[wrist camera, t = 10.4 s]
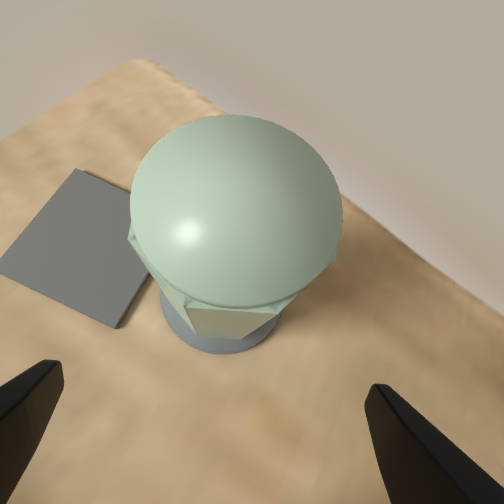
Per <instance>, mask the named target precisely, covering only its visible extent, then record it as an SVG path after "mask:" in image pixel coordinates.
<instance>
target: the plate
mask: <svg viewBox="0 0 504 504" xmlns="http://www.w3.org/2000/svg"><path fill="white" fill-rule="evenodd" d="M160 302H161V307H162V311H163V313H164V316H165V318H166V320H167V322H168V324H169V326H170V327H171V328H172V330H173V331H174V332H175V333H176V334H177V335H178V336H179V337H180V338H181V339H182V340H183V341H184V342H186V343H187V344H189V345H190V346H192V347H194V348H196V349H198V350H201V351H204V352H208V353H212V354H231V353H237V352H240V351H243V350H246V349H248V348H250V347H252V346H254V345H256V344H257V343H259V342H260V341H261V340H263V339H264V338H265V337H266V336H267V335H268V334H269V333H270V332H271V330H272V329H273V328H274V326H275V325H276V323H277V321H278V319H279V317H280V315H281V312H282V310H281V311H280V312H279V313H278V314H277V315H276V316H275V317H273V318H272V319H270V320H269V321H267V322H266V323H264V324H263V325H261V326H260V327H258V328H257V329H255V330H254V331H252V332H251V333H249V334H248V335H246V336H245V337H244V338H242V339H241V340H238V339H221V338H204V337H197V335H196V334H195V333H194V332H193V330H192V329H191V328H190V327H189V325H188V324H187V323H186V322H185V321H184V319H183V318H182V317H181V316H180V314H179V313H178V312H177V311H176V310H175V308H174V307H173V306H172V305H171V303H170V302H169V300H168V299H167V298H166V296H165V295H164V293H163V292H162V290H161V289H160Z"/></svg>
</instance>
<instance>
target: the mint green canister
mask: <svg viewBox="0 0 504 504" xmlns="http://www.w3.org/2000/svg"><path fill="white" fill-rule="evenodd" d="M130 215H131V225H130V230H129V235H128V238H127V240H128V241H129V243H130V244H131V246H132V247H133V249H134V250H135V252H136V253H137V254H138V256H139V257H140V259H141V260H142V262H143V263H144V265H145V266H146V268H147V269H148V271H149V272H150V274H151V275H152V277H153V278H154V280H155V281H156V283H157V284H158V286H159V287H160V289H161V290H162V292H163V293H164V295H165V296H166V298H167V299H168V300H169V302H170V303H171V305H172V306H173V307H174V308H175V310H176V311H177V312H178V313H179V314H180V316H181V317H182V318H183V319H184V321H185V322H186V323H187V324H188V325H189V327H190V328H191V329H192V330H193V332H194V333H195V334H196V335H197V337H204V338H221V339H238V340H241V339H242V338H244V337H245V336H246V335H248V334H249V333H251V332H252V331H254V330H255V329H257V328H258V327H260V326H261V325H263V324H264V323H266V322H267V321H269V320H270V319H272V318H273V317H275V316H276V315H277V314H278V313H279V312H280V311H281V310H282V309H283V308H284V307H285V306H287V305H288V304H289V303H290V302H291V301H292V300H293V299H294V298H295V297H296V296H297V295H298V294H299V293H300V292H301V291H303V290H304V289H305V288H306V287H307V286H308V285H309V284H310V283H311V282H312V281H313V280H314V279H315V278H316V277H317V276H318V275H320V274H321V273H322V272H323V271H324V270H325V269H326V268H327V267H328V266H329V265H330V264H331V263H332V262H334V261H335V260H336V259H337V254H336V247H337V245H338V241H339V238H340V235H341V229H342V223H343V209H342V201H341V196H340V192H339V189H338V186H337V183H336V181H335V178H334V176H333V174H332V172H331V171H330V169H329V167H328V166H327V164H326V163H325V161H324V160H323V159H322V157H321V156H320V155H319V154H318V153H317V152H316V151H315V150H314V149H313V147H311V146H310V145H309V144H308V143H307V142H306V141H304V140H303V139H302V138H300V137H299V136H297V135H296V134H295V133H293V132H291V131H289V130H287V129H286V128H284V127H282V126H280V125H277V124H275V123H272V122H269V121H266V120H263V119H260V118H255V117H250V116H241V115H218V116H210V117H206V118H201V119H197V120H195V121H192V122H189V123H186V124H184V125H182V126H180V127H178V128H176V129H174V130H173V131H171V132H170V133H168V134H167V135H165V136H164V137H163V138H162V139H160V140H159V141H158V142H157V143H156V144H155V145H154V146H153V147H152V148H151V149H150V151H149V152H148V153H147V154H146V156H145V157H144V159H143V160H142V162H141V163H140V165H139V168H138V170H137V172H136V174H135V177H134V180H133V184H132V187H131V195H130Z"/></svg>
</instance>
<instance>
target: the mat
mask: <svg viewBox="0 0 504 504" xmlns="http://www.w3.org/2000/svg"><path fill="white" fill-rule="evenodd" d="M130 195H131V194H130V193H128V192H125V191H123V190H121V189H119V188H117V187H115V186H113V185H111V184H108V183H106V182H104V181H102V180H100V179H98V178H96V177H94V176H91V175H89V174H87V173H85V172H83V171H81V170H79V169H76V168H75V169H74V171H73V172H72V173H71V174H70V175H69V177H68V178H67V179H66V180H65V181H64V183H63V184H62V185H61V186H60V187H59V189H58V190H57V191H56V192H55V193H54V195H53V196H52V197H51V198H50V199H49V201H48V202H47V203H46V204H45V205H44V207H43V208H42V209H41V210H40V211H39V213H38V214H37V215H36V216H35V218H34V219H33V220H32V221H31V222H30V224H29V225H28V226H27V227H26V228H25V230H24V231H23V232H22V233H21V234H20V236H19V237H18V238H17V239H16V240H15V242H14V243H13V244H12V245H11V246H10V248H9V249H8V250H7V251H6V252H5V254H4V255H3V256H2V257H1V258H0V274H2V275H4V276H6V277H8V278H10V279H12V280H14V281H16V282H18V283H20V284H22V285H24V286H27V287H29V288H31V289H33V290H35V291H37V292H39V293H41V294H43V295H45V296H47V297H49V298H51V299H54V300H56V301H58V302H60V303H62V304H64V305H66V306H68V307H70V308H72V309H74V310H76V311H78V312H80V313H83V314H85V315H87V316H89V317H91V318H93V319H95V320H97V321H99V322H101V323H103V324H105V325H107V326H109V327H112V328H114V329H116V328H117V327H118V325H119V323H120V322H121V320H122V318H123V317H124V315H125V313H126V312H127V310H128V309H129V307H130V305H131V304H132V302H133V300H134V299H135V297H136V295H137V294H138V292H139V290H140V289H141V287H142V285H143V284H144V282H145V281H146V279H147V277H148V276H149V274H150V272H149V271H148V269H147V268H146V266H145V265H144V263H143V262H142V260H141V259H140V257H139V256H138V254H137V253H136V252H135V250H134V249H133V247H132V246H131V244H130V243H129V241H128V240H127V238H128V235H129V230H130V225H131V215H130Z"/></svg>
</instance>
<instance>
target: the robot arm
mask: <svg viewBox="0 0 504 504" xmlns="http://www.w3.org/2000/svg"><path fill="white" fill-rule="evenodd" d="M63 388H64V377H63V370H62V364H61V362H60V361H58V360H42V361H40V362H39V363H37V364H35V365H34V366H32V367H31V368H29V369H27V370H26V371H24V372H23V373H21V374H19V375H18V376H16V377H15V378H13V379H12V380H10V381H8V382H7V383H5V384H4V385H2V386H0V504H6V503H7V501H8V500H9V498H10V496H11V494H12V492H13V491H14V489H15V487H16V485H17V484H18V482H19V480H20V478H21V476H22V475H23V473H24V471H25V469H26V468H27V466H28V464H29V462H30V460H31V459H32V457H33V455H34V453H35V451H36V449H37V447H38V445H39V443H40V441H41V438H42V436H43V434H44V432H45V429H46V427H47V425H48V423H49V420H50V418H51V416H52V414H53V411H54V409H55V407H56V404H57V402H58V400H59V398H60V395H61V393H62V391H63ZM364 407H365V413H366V417H367V421H368V426H369V430H370V434H371V438H372V442H373V446H374V450H375V455H376V458H377V462H378V466H379V469H380V472H381V475H382V478H383V481H384V484H385V487H386V490H387V493H388V496H389V499H390V501H391V504H504V488H503V487H502V486H501V485H500V484H499V483H497V482H496V481H495V480H494V479H493V478H492V477H491V476H490V475H489V474H487V473H486V472H485V471H484V470H483V469H482V468H481V467H480V466H478V465H477V464H476V463H475V462H474V461H473V460H472V459H471V458H469V457H468V456H467V455H466V454H465V453H464V452H463V451H462V450H460V449H459V448H458V447H457V446H456V445H455V444H454V443H453V442H451V441H450V440H449V439H448V438H447V437H446V436H445V435H444V434H442V433H441V432H440V431H439V430H438V429H437V428H436V427H435V426H433V425H432V424H431V423H430V422H429V421H428V420H427V419H426V418H425V417H423V416H422V415H421V414H420V413H419V412H418V411H417V410H416V409H414V408H413V407H412V406H411V405H410V404H409V403H408V402H407V401H405V400H404V399H403V398H402V397H401V396H400V395H399V394H398V393H396V392H395V391H394V390H393V389H392V388H391V387H390V386H388V385H386V384H373V385H372V386H371V389H370V391H369V393H368V396H367V398H366V400H365V406H364Z"/></svg>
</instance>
